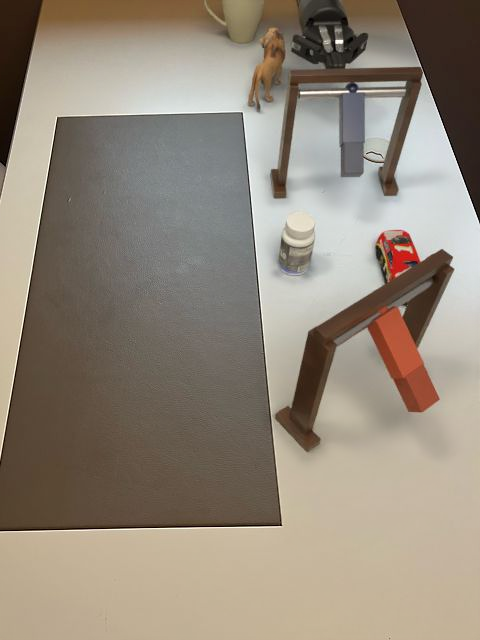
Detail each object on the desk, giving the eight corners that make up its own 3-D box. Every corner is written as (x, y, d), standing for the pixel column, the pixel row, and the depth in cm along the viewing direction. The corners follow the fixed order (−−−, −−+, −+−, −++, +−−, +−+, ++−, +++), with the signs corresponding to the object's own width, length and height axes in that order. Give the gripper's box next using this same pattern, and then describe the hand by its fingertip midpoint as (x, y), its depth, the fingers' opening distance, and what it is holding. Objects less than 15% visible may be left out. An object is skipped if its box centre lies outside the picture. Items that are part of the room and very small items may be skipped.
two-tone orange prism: (368, 441, 67) (315, 334, 65) (463, 372, 72) (416, 270, 70) (381, 442, 65) (326, 332, 63) (478, 371, 70) (430, 266, 67)
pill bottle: (276, 253, 94) (282, 209, 87) (308, 254, 94) (316, 209, 87) (278, 276, 91) (284, 232, 84) (310, 277, 91) (319, 233, 84)
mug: (238, 20, 134) (241, -43, 124) (272, 37, 130) (277, -27, 120) (201, 38, 130) (201, -25, 120) (234, 56, 126) (237, -8, 116)
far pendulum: (298, 178, 91) (297, 87, 91) (401, 176, 91) (402, 84, 91) (301, 174, 89) (300, 80, 88) (407, 172, 89) (407, 78, 88)
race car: (428, 307, 88) (437, 288, 84) (389, 309, 88) (397, 289, 84) (407, 242, 95) (415, 221, 92) (371, 243, 95) (378, 222, 92)
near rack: (274, 418, 78) (293, 317, 62) (388, 342, 84) (431, 234, 68) (307, 452, 75) (335, 356, 59) (422, 371, 81) (475, 265, 65)
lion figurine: (257, 69, 123) (261, 22, 115) (284, 72, 122) (290, 24, 115) (245, 112, 115) (248, 63, 107) (273, 115, 114) (278, 67, 107)
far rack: (270, 175, 104) (282, 61, 89) (389, 172, 104) (423, 58, 89) (273, 198, 101) (286, 84, 85) (396, 195, 101) (433, 81, 85)
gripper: (285, -6, 104) (298, 48, 94) (365, -8, 104) (385, 46, 94) (281, 40, 110) (292, 95, 100) (356, 38, 110) (374, 93, 100)
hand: (337, 71), depth 97 cm, fingers closed
